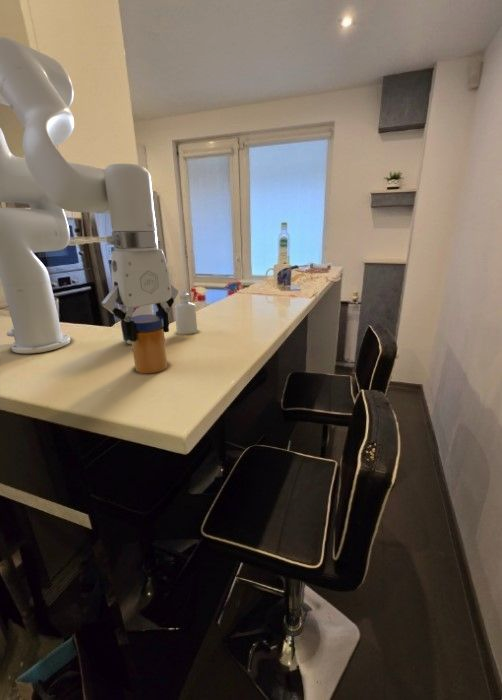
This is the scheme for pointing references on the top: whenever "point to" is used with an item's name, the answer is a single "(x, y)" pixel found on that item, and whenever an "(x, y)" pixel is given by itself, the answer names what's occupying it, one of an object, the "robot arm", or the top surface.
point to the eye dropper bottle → (185, 315)
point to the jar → (150, 351)
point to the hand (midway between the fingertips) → (147, 334)
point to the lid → (148, 322)
